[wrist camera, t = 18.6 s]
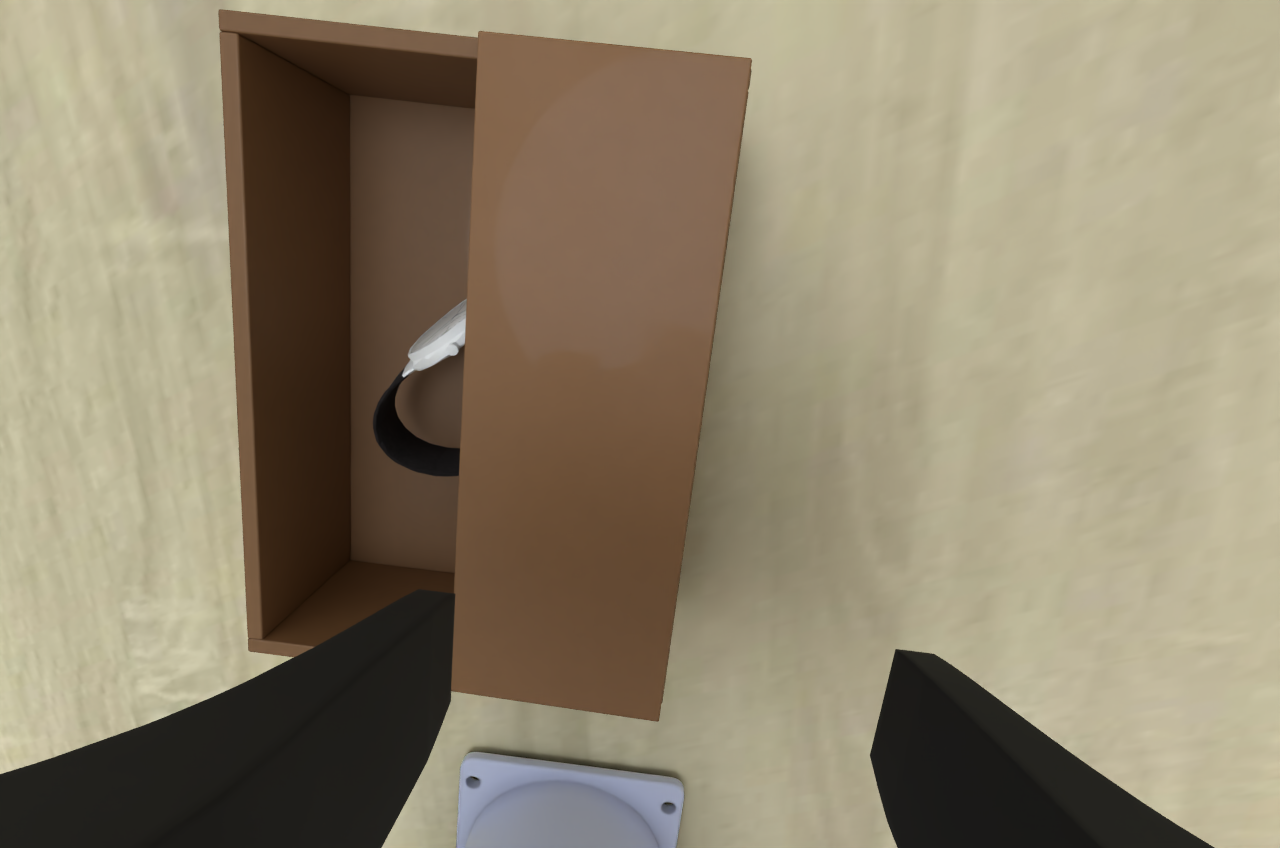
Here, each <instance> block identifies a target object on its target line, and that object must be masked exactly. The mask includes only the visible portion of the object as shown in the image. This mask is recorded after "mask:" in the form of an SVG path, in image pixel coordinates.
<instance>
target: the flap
mask: <svg viewBox="0 0 1280 848" xmlns="http://www.w3.org/2000/svg"><path fill="white" fill-rule="evenodd" d="M751 63H752V59H751V58H742V57H732V56H723V55H713V54H703V53H693V52H683V51H673V50H663V49H653V48H643V47H633V46H623V45H613V44H603V43H593V42H584V41H574V40H564V39H554V38H544V37H534V36H524V35H514V34H504V33H494V32H484V31H479V32H478V52H477V75H476V98H475V120H474V143H473V166H472V189H471V212H470V235H469V258H468V281H467V303H466V326H465V349H464V372H463V395H462V418H461V441H460V464H459V486H458V509H457V532H456V555H455V578H454V594H455V614H454V636H453V659H452V681H451V691H454V692H461V693H468V694H475V695H481V696H488V697H495V698H502V699H508V700H515V701H522V702H529V703H535V704H542V705H549V706H556V707H562V708H569V709H576V710H583V711H589V712H596V713H603V714H610V715H616V716H623V717H630V718H637V719H644V720H650V721H659V716H660V709H661V702H662V695H663V688H664V681H665V674H666V667H667V660H668V652H669V645H670V638H671V631H672V624H673V617H674V610H675V603H676V596H677V589H678V581H679V574H680V567H681V560H682V553H683V546H684V539H685V532H686V525H687V518H688V510H689V503H690V496H691V489H692V482H693V475H694V468H695V461H696V454H697V447H698V439H699V432H700V425H701V418H702V411H703V404H704V397H705V390H706V383H707V376H708V368H709V361H710V354H711V347H712V340H713V333H714V326H715V319H716V312H717V305H718V297H719V290H720V283H721V276H722V269H723V262H724V255H725V248H726V241H727V234H728V226H729V219H730V212H731V205H732V198H733V191H734V184H735V177H736V170H737V163H738V155H739V148H740V141H741V134H742V127H743V120H744V113H745V106H746V99H747V92H748V84H749V77H750V70H751Z"/></svg>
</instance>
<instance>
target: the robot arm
mask: <svg viewBox="0 0 1280 848" xmlns="http://www.w3.org/2000/svg"><path fill="white" fill-rule="evenodd" d="M454 614H455V594H454V593H446V592H438V591H430V590H422V589H418V590H416V591H414V592H412V593H410V594H408V595H406V596H404V597H402V598H400V599H399V600H397V601H395V602H393V603H391V604H390V605H388V606H386V607H384V608H383V609H381V610H379V611H377V612H376V613H374V614H372V615H370V616H369V617H367V618H365V619H364V620H362V621H360V622H358V623H356V624H355V625H353V626H351V627H349V628H348V629H346V630H344V631H342V632H340V633H339V634H337V635H335V636H333V637H332V638H330V639H328V640H326V641H324V642H323V643H321V644H319V645H317V646H315V647H314V648H312V649H310V650H308V651H306V652H304V653H302V654H300V655H298V656H296V657H294V658H292V659H290V660H288V661H286V662H284V663H282V664H280V665H278V666H276V667H274V668H272V669H270V670H268V671H266V672H265V673H263V674H261V675H259V676H257V677H255V678H253V679H251V680H249V681H247V682H245V683H242V684H240V685H238V686H236V687H234V688H232V689H230V690H227V691H225V692H223V693H221V694H218V695H216V696H214V697H212V698H209V699H207V700H205V701H202V702H200V703H198V704H195V705H193V706H190V707H188V708H186V709H183V710H181V711H178V712H176V713H174V714H171V715H169V716H167V717H164V718H162V719H159V720H156V721H154V722H151V723H149V724H146V725H144V726H141V727H138V728H135V729H132V730H130V731H127V732H124V733H121V734H118V735H116V736H113V737H110V738H107V739H104V740H102V741H99V742H96V743H93V744H90V745H87V746H85V747H82V748H79V749H76V750H73V751H71V752H68V753H65V754H62V755H59V756H57V757H54V758H51V759H48V760H45V761H42V762H39V763H35V764H32V765H29V766H26V767H23V768H19V769H16V770H13V771H10V772H6V773H3V774H0V848H381V847H382V846H383V844H384V842H385V840H386V838H387V836H388V834H389V833H390V831H391V829H392V827H393V825H394V823H395V821H396V819H397V818H398V816H399V814H400V812H401V810H402V808H403V806H404V805H405V803H406V801H407V799H408V797H409V795H410V793H411V791H412V789H413V788H414V786H415V784H416V782H417V780H418V778H419V776H420V774H421V772H422V770H423V768H424V766H425V765H426V763H427V761H428V758H429V756H430V753H431V751H432V748H433V746H434V743H435V741H436V738H437V736H438V733H439V731H440V728H441V725H442V723H443V720H444V717H445V715H446V712H447V710H448V707H449V704H450V702H451V681H452V659H453V636H454ZM870 757H871V761H872V765H873V769H874V774H875V778H876V782H877V786H878V790H879V793H880V797H881V800H882V804H883V808H884V811H885V815H886V818H887V822H888V824H889V827H890V829H891V832H892V835H893V837H894V840H895V842H896V845H897V847H898V848H1214V847H1212V846H1211V845H1209V844H1208V843H1206V842H1204V841H1203V840H1201V839H1199V838H1198V837H1196V836H1194V835H1193V834H1191V833H1190V832H1188V831H1186V830H1185V829H1183V828H1181V827H1180V826H1178V825H1176V824H1175V823H1173V822H1172V821H1170V820H1169V819H1167V818H1166V817H1164V816H1162V815H1161V814H1159V813H1158V812H1156V811H1155V810H1153V809H1152V808H1150V807H1149V806H1147V805H1146V804H1144V803H1142V802H1141V801H1140V800H1138V799H1137V798H1135V797H1134V796H1132V795H1131V794H1129V793H1128V792H1126V791H1125V790H1123V789H1122V788H1120V787H1119V786H1118V785H1116V784H1115V783H1113V782H1112V781H1110V780H1109V779H1107V778H1106V777H1104V776H1103V775H1101V774H1100V773H1099V772H1097V771H1096V770H1094V769H1093V768H1091V767H1090V766H1088V765H1087V764H1086V763H1084V762H1083V761H1081V760H1080V759H1079V758H1077V757H1076V756H1074V755H1073V754H1072V753H1070V752H1069V751H1067V750H1066V749H1065V748H1063V747H1062V746H1061V745H1059V744H1058V743H1056V742H1055V741H1054V740H1052V739H1051V738H1050V737H1048V736H1047V735H1045V734H1044V733H1043V732H1041V731H1040V730H1039V729H1037V728H1036V727H1035V726H1033V725H1032V724H1031V723H1029V722H1028V721H1027V720H1025V719H1024V718H1023V717H1021V716H1020V715H1019V714H1017V713H1016V712H1015V711H1013V710H1012V709H1011V708H1009V707H1008V706H1007V705H1005V704H1004V703H1003V702H1001V701H1000V700H999V699H997V698H996V697H995V696H993V695H992V694H991V693H989V692H988V691H987V690H985V689H984V688H982V687H981V686H980V685H978V684H977V683H976V682H974V681H973V680H972V679H970V678H969V677H967V676H966V675H965V674H963V673H962V672H961V671H959V670H958V669H956V668H955V667H953V666H952V665H950V664H949V663H947V662H946V661H944V660H943V659H941V658H940V657H938V656H936V655H935V654H930V653H922V652H914V651H906V650H899V649H896V650H895V654H894V658H893V662H892V667H891V671H890V675H889V679H888V683H887V687H886V691H885V696H884V700H883V704H882V708H881V712H880V716H879V720H878V724H877V729H876V733H875V737H874V741H873V745H872V749H871V753H870ZM471 776H474V777H477V778H478V779H479V780H475V779H472V778H471ZM665 802H671V803H673V804H672V805H666V804H664V803H665ZM683 802H684V786H683V784H682V782H681V781H680V780H678V779H677V778H673V777H668V776H660V775H652V774H645V773H637V772H629V771H622V770H614V769H606V768H599V767H591V766H583V765H576V764H568V763H560V762H553V761H545V760H537V759H530V758H522V757H514V756H507V755H499V754H491V753H484V752H471V753H468V754H467V755H466V756H465V757H464V759H463V761H462V764H461V767H460V782H459V802H458V822H457V842H456V848H676V846H677V840H678V833H679V827H680V821H681V814H682V808H683Z"/></svg>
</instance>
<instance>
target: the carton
mask: <svg viewBox="0 0 1280 848" xmlns="http://www.w3.org/2000/svg"><path fill="white" fill-rule="evenodd" d="M219 29H220V31H222V32H220V54H221V75H222V96H223V118H224V139H225V160H226V182H227V203H228V224H229V246H230V267H231V288H232V310H233V331H234V352H235V373H236V395H237V416H238V437H239V459H240V480H241V501H242V523H243V544H244V565H245V587H246V608H247V629H248V637H249V639H248V650H249V651H250V652H258V653H266V654H273V655H281V656H289V657H296V656H298V655H300V654H302V653H304V652H306V651H308V650H310V649H312V648H314V647H315V646H317V645H319V644H321V643H323V642H324V641H326V640H328V639H330V638H332V637H333V636H335V635H337V634H339V633H340V632H342V631H344V630H346V629H348V628H349V627H351V626H353V625H355V624H356V623H358V622H360V621H362V620H364V619H365V618H367V617H369V616H370V615H372V614H374V613H376V612H377V611H379V610H381V609H383V608H384V607H386V606H388V605H390V604H391V603H393V602H395V601H397V600H399V599H400V598H402V597H404V596H406V595H408V594H410V593H412V592H414V591H416V590H418V589H422V590H430V591H438V592H446V593H454V578H455V555H456V532H457V509H458V486H459V476H450V477H443V476H432V475H427V474H423V473H418V472H415V471H412V470H410V469H408V468H406V467H403V466H401V465H399V464H397V463H395V462H394V461H393V460H392V459H390V458H389V457H388V456H387V455H386V454H385V453H384V451H383V450H382V449H381V448H380V446H379V445H378V443H377V442H376V439H375V435H374V430H373V415H374V412H375V409H376V407H377V404H378V402H379V400H380V398H381V397H382V395H383V394H384V392H385V391H386V390H387V389H388V388H389V387H390V385H391V384H392V382H393V381H394V380H395V378H396V377H397V376H398V374H399V373H400V372H401V371H402V370H403V369H404V368H405V367H406V365H407V364H408V362H409V361H410V360H411V359H410V358H409V357H408V353H409V350H410V348H411V347H412V346H413V345H414V343H415V342H416V341H417V340H418V339H419V338H420V337H421V336H422V335H423V334H424V333H425V332H426V331H427V330H428V329H430V328H431V327H432V326H433V325H434V324H435V323H436V322H438V321H439V320H440V319H441V318H442V317H443V316H445V315H446V314H447V313H448V312H449V311H451V310H452V309H453V308H455V307H456V306H457V305H459V304H460V303H461V302H463V301H464V300H466V299H467V281H468V258H469V235H470V212H471V189H472V166H473V143H474V120H475V98H476V75H477V52H478V38H475V37H466V36H457V35H448V34H439V33H430V32H421V31H412V30H403V29H394V28H385V27H375V26H366V25H357V24H348V23H339V22H330V21H321V20H312V19H303V18H294V17H285V16H276V15H267V14H258V13H249V12H239V11H230V10H219ZM750 77H751V70H750ZM750 77H749V84H750ZM749 84H748V89H749ZM747 99H748V92H747ZM747 99H746V106H747ZM746 106H745V113H746ZM745 113H744V120H745ZM744 120H743V127H744ZM743 127H742V134H743ZM742 134H741V141H742ZM741 141H740V148H741ZM740 148H739V155H740ZM739 155H738V162H739ZM737 169H738V163H737ZM736 177H737V170H736ZM736 177H735V184H736ZM735 184H734V191H735ZM734 191H733V198H734ZM733 198H732V205H733ZM732 205H731V212H732ZM731 212H730V219H731ZM730 219H729V226H730ZM729 226H728V233H729ZM727 240H728V234H727ZM726 247H727V241H726ZM725 254H726V248H725ZM724 262H725V255H724ZM724 262H723V269H724ZM723 269H722V276H723ZM722 276H721V283H722ZM721 283H720V290H721ZM720 290H719V297H720ZM719 297H718V304H719ZM717 311H718V305H717ZM716 318H717V312H716ZM715 325H716V319H715ZM714 332H715V326H714ZM713 339H714V333H713ZM712 347H713V340H712ZM712 347H711V354H712ZM464 349H465V345H464V346H462V347H461V348H460V349H459V351H458V353H457V355H455V356H449V357H448V358H446V359H444V360H442V361H440V362H439V363H437V364H435V365H433V366H431V367H429V368H426V369H424V370H421V371H418V370H415V371H414V372H412V373H411V374H410V375H409V376H408V377H407V378H406V379H404V380H403V381H402V382H401V384H400V386H399V388H398V391H397V393H396V396H395V408H396V412H397V415H398V417H399V419H400V420H401V422H402V423H403V425H404V426H405V428H407V429H408V430H409V431H410V432H411V433H412V434H414V435H415V436H416V437H418V438H420V439H422V440H424V441H427V442H429V443H431V444H435V445H439V446H443V447H448V448H460V441H461V418H462V395H463V372H464ZM711 354H710V361H711ZM710 361H709V368H710ZM709 368H708V375H709ZM707 382H708V376H707ZM706 389H707V383H706ZM705 396H706V390H705ZM704 403H705V397H704ZM703 410H704V404H703ZM702 417H703V411H702ZM701 424H702V418H701ZM700 432H701V425H700ZM700 432H699V439H700ZM699 439H698V446H699ZM697 453H698V447H697ZM696 460H697V454H696ZM695 467H696V461H695ZM694 474H695V468H694ZM693 481H694V475H693ZM692 488H693V482H692ZM691 495H692V489H691ZM690 502H691V496H690ZM689 509H690V503H689ZM688 516H689V510H688ZM687 524H688V518H687ZM686 531H687V525H686ZM685 538H686V532H685ZM684 545H685V539H684ZM683 552H684V546H683ZM682 559H683V553H682ZM681 566H682V560H681ZM680 573H681V567H680ZM679 580H680V574H679ZM678 587H679V581H678ZM677 594H678V589H677ZM676 601H677V596H676ZM675 609H676V603H675ZM674 616H675V610H674ZM673 623H674V617H673ZM672 630H673V624H672ZM671 637H672V631H671ZM670 644H671V638H670ZM669 651H670V645H669ZM668 658H669V652H668ZM667 665H668V660H667ZM666 672H667V667H666ZM665 679H666V674H665ZM664 686H665V681H664ZM663 694H664V688H663ZM662 701H663V695H662ZM661 704H662V702H661Z"/></svg>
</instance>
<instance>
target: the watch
mask: <svg viewBox="0 0 1280 848" xmlns="http://www.w3.org/2000/svg"><path fill="white" fill-rule="evenodd" d="M466 303H467V299H466V300H464V301H463V302H461V303H460V304H459V305H457V306H456V307H455V308H453V309H452V310H451V311H449V312H448V313H447V314H446V315H445V316H443V317H442V318H441V319H440V320H439V321H438V322H436V323H435V324H434V325H433V326H432V327H431V328H430V329H428V330H427V331H426V332H425V333H424V334H423V335H422V336H421V337H420V338H419V339H418V340H417V341H416V342H415V343H414V345H413V346H412V347H411V348H410V350H409V353H408V357H409V358H410V359H411V360H410V361H409V362H408V364H407V365H406V367H405V368H404V369H403V370H402V371H401V372H400V373H399V374H398V376H397V377H396V378H395V380H394V381H393V382H392V384H391V385H390V387H389V388H388V389H387V390H386V391H385V392H384V394H383V395H382V397H381V398H380V400H379V402H378V404H377V407H376V409H375V412H374V415H373V430H374V435H375V439H376V442H377V443H378V445H379V446H380V448H381V449H382V450H383V451H384V453H385V454H386V455H387V456H388V457H389V458H390V459H392V460H393V461H394V462H395V463H397V464H399V465H401V466H403V467H406V468H408V469H410V470H412V471H415V472H418V473H423V474H427V475H432V476H443V477H450V476H459V464H460V448H448V447H443V446H439V445H435V444H431V443H429V442H427V441H424V440H422V439H420V438H418V437H416V436H415V435H414V434H412V433H411V432H410V431H409V430H408V429H407V428H405V426H404V425H403V423H402V422H401V420H400V419H399V417H398V415H397V412H396V408H395V396H396V393H397V391H398V388H399V386H400V384H401V382H402V381H403V380H404V379H406V378H407V377H408V376H409V375H410V374H411V373H412V372H414V371H415V370H418V371H421V370H424V369H426V368H429V367H431V366H433V365H435V364H437V363H439V362H440V361H442V360H444V359H446V358H448V357H449V356H455V355H457V353H458V351H459V349H460V348H461V347H462V346H464V345H465V326H466Z"/></svg>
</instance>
